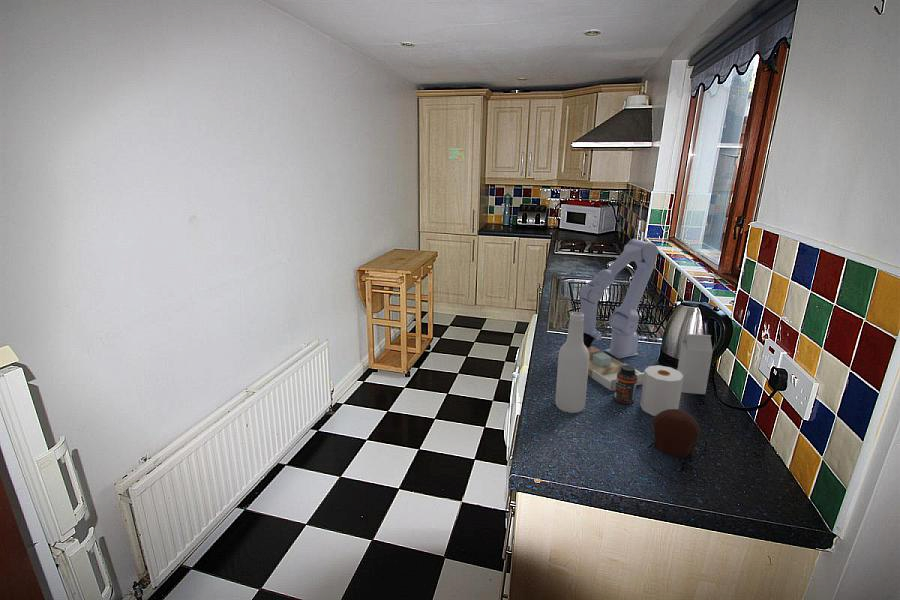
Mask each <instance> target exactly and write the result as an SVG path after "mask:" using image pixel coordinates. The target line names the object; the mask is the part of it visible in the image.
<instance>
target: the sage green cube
mask: <svg viewBox="0 0 900 600" xmlns="http://www.w3.org/2000/svg"><path fill="white" fill-rule="evenodd" d="M605 353H606V352H604V353H598V354H593V360H592V362H593V363H595V364H596V365H598V366H599V367H604V366H609V365H611V360H612V358H613V357H612V356H611V355H609V354H607V353H606V354H605ZM610 356H611V357H610Z"/></svg>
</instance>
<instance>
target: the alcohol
mask: <svg viewBox="0 0 900 600" xmlns="http://www.w3.org/2000/svg"><path fill="white" fill-rule="evenodd" d="M583 321H584V314H583V313H580V312H579V311H571V313H569V323H568V329H567V335H566V337H567V338H566V340H565V343H564V344H562V345H561V346H560V348H559V351H558V358H557V371H556V374H557V375H556V387H555V403H554V404H555V405H556V408H558V410H560V411H561V410H562V412H564V413H567V412H568V413H567V414H578V413H581V412H582V411H583V410H584V409H585V407H586V398H587V388H588V377H589V376H588V367H589V351H588V349H587V347H586V346H585V345H584V342H583Z"/></svg>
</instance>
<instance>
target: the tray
mask: <svg viewBox="0 0 900 600" xmlns="http://www.w3.org/2000/svg"><path fill="white" fill-rule="evenodd" d="M623 364H624V365H628V364H627V363H623ZM617 373H618V372H615V373H610V374H605V375H601V374H600V373H598V372H596V371H595V370H592V378H591V379H592V380H594V381H596V382H597V383H598V384H600V385H601V386H603V387H604V388H606V389H607V390H608V391H610V392H615V387H616V378H617ZM635 374H636V375H637V384H636V387H637V386H643V379H644V372H640V371H639V370H637V369H636V368H635Z"/></svg>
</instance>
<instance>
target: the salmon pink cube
mask: <svg viewBox="0 0 900 600" xmlns="http://www.w3.org/2000/svg"><path fill="white" fill-rule="evenodd" d="M587 349H588V351H589V360H593V354H598V353H601V351H602V350H600V349H598V348H596V347H595V346H590V347H587Z"/></svg>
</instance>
